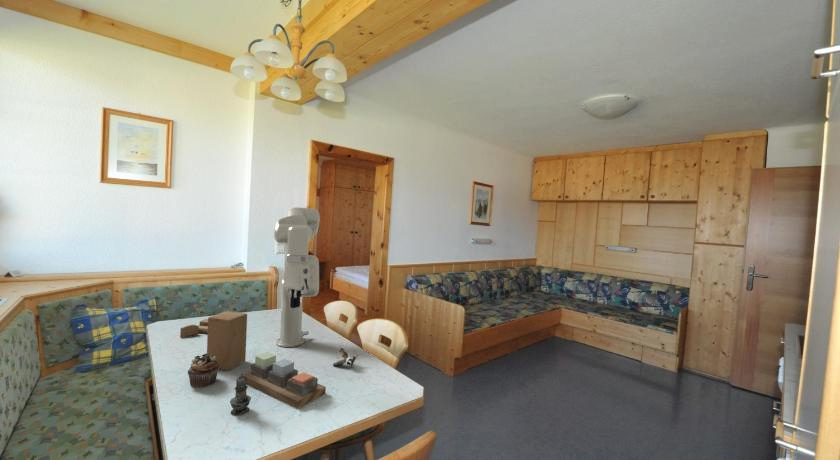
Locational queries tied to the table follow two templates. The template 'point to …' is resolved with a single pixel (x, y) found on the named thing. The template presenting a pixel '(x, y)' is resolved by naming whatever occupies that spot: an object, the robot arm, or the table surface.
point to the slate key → (283, 367)
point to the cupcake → (203, 371)
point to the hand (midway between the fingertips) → (295, 307)
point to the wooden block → (227, 338)
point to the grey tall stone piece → (240, 397)
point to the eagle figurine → (345, 358)
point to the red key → (302, 378)
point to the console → (284, 386)
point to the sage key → (265, 360)
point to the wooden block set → (194, 329)
